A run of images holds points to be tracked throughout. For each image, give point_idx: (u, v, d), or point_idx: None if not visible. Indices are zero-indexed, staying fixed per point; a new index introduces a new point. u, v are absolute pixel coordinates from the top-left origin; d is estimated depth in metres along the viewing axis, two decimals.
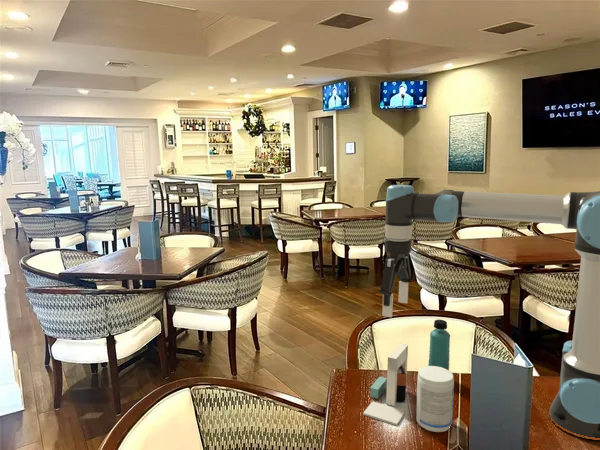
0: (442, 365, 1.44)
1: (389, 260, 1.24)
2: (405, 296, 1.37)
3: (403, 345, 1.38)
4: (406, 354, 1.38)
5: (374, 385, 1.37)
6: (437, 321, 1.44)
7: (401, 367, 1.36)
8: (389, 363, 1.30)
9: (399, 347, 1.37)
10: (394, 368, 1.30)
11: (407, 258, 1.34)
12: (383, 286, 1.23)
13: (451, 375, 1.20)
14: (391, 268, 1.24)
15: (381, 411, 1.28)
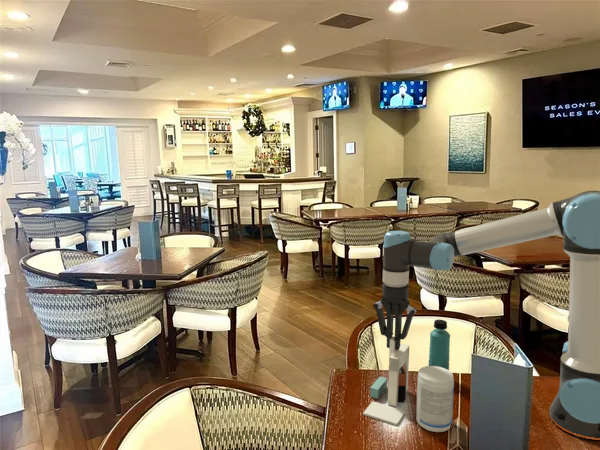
0: (442, 365, 1.44)
1: None
2: None
3: (404, 345, 1.38)
4: (407, 354, 1.37)
5: (374, 385, 1.37)
6: (437, 321, 1.44)
7: (401, 367, 1.36)
8: (390, 363, 1.30)
9: (401, 347, 1.36)
10: (395, 368, 1.29)
11: None
12: None
13: (451, 375, 1.20)
14: None
15: (381, 411, 1.28)
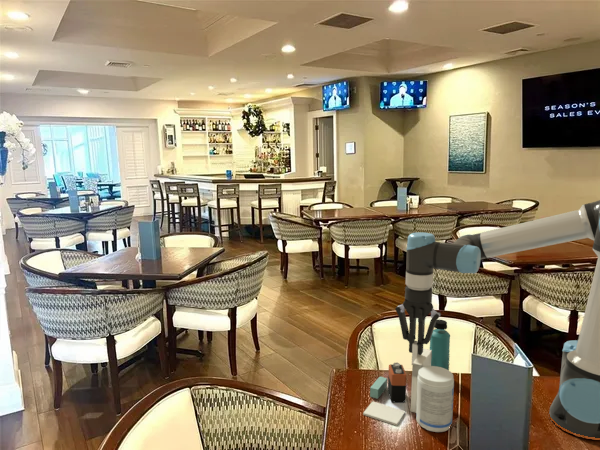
0: (442, 365, 1.44)
1: None
2: None
3: (426, 350, 1.34)
4: (430, 360, 1.34)
5: (374, 385, 1.37)
6: (437, 321, 1.44)
7: (401, 367, 1.36)
8: (414, 369, 1.26)
9: (423, 352, 1.33)
10: None
11: None
12: None
13: (451, 375, 1.20)
14: None
15: (381, 411, 1.28)
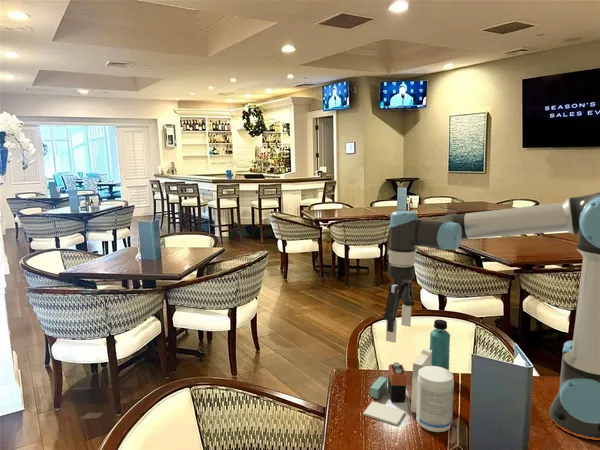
0: (442, 365, 1.44)
1: (393, 286, 1.25)
2: (408, 319, 1.38)
3: (427, 350, 1.34)
4: (430, 360, 1.34)
5: (374, 385, 1.37)
6: (437, 321, 1.44)
7: (401, 367, 1.36)
8: (414, 369, 1.26)
9: (423, 352, 1.33)
10: None
11: (410, 282, 1.35)
12: (387, 312, 1.24)
13: (451, 375, 1.20)
14: (395, 294, 1.25)
15: (381, 411, 1.28)
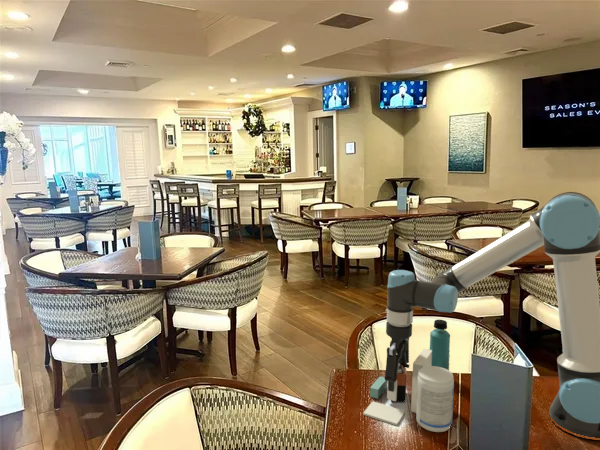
0: (442, 365, 1.44)
1: (390, 350, 1.28)
2: None
3: (427, 350, 1.34)
4: (430, 360, 1.34)
5: (374, 385, 1.37)
6: (437, 321, 1.44)
7: (401, 367, 1.36)
8: (414, 369, 1.26)
9: (423, 352, 1.33)
10: None
11: (407, 341, 1.38)
12: (387, 374, 1.29)
13: (451, 375, 1.20)
14: (393, 357, 1.28)
15: (381, 411, 1.28)
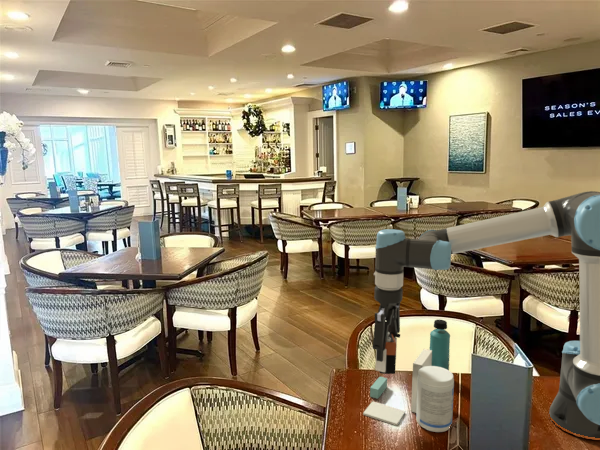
0: (442, 365, 1.44)
1: (379, 315, 1.17)
2: None
3: (427, 350, 1.34)
4: (430, 360, 1.34)
5: (374, 385, 1.37)
6: (437, 321, 1.44)
7: (391, 336, 1.25)
8: (414, 369, 1.26)
9: (423, 352, 1.33)
10: None
11: (398, 308, 1.27)
12: (375, 342, 1.18)
13: (451, 375, 1.20)
14: (382, 323, 1.17)
15: (381, 411, 1.28)
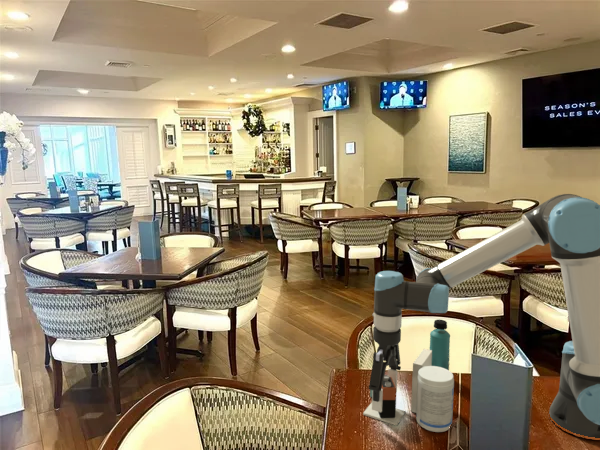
0: (442, 365, 1.44)
1: (377, 354, 1.19)
2: None
3: (427, 350, 1.34)
4: (430, 360, 1.34)
5: None
6: (437, 321, 1.44)
7: (390, 380, 1.27)
8: (414, 369, 1.26)
9: (423, 352, 1.33)
10: None
11: (397, 345, 1.29)
12: (372, 382, 1.18)
13: (451, 375, 1.20)
14: (380, 363, 1.18)
15: None
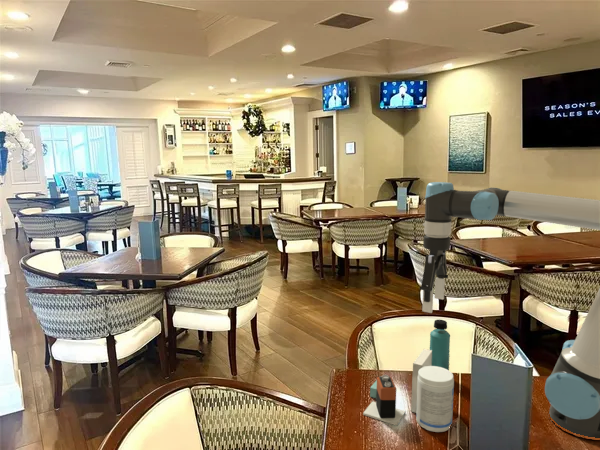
0: (442, 365, 1.44)
1: (430, 256, 1.25)
2: (441, 292, 1.38)
3: (427, 350, 1.34)
4: (430, 360, 1.34)
5: (374, 385, 1.37)
6: (437, 321, 1.44)
7: (390, 380, 1.27)
8: (414, 369, 1.26)
9: (423, 352, 1.33)
10: None
11: (444, 254, 1.36)
12: (424, 282, 1.24)
13: (451, 375, 1.20)
14: (432, 264, 1.25)
15: None
